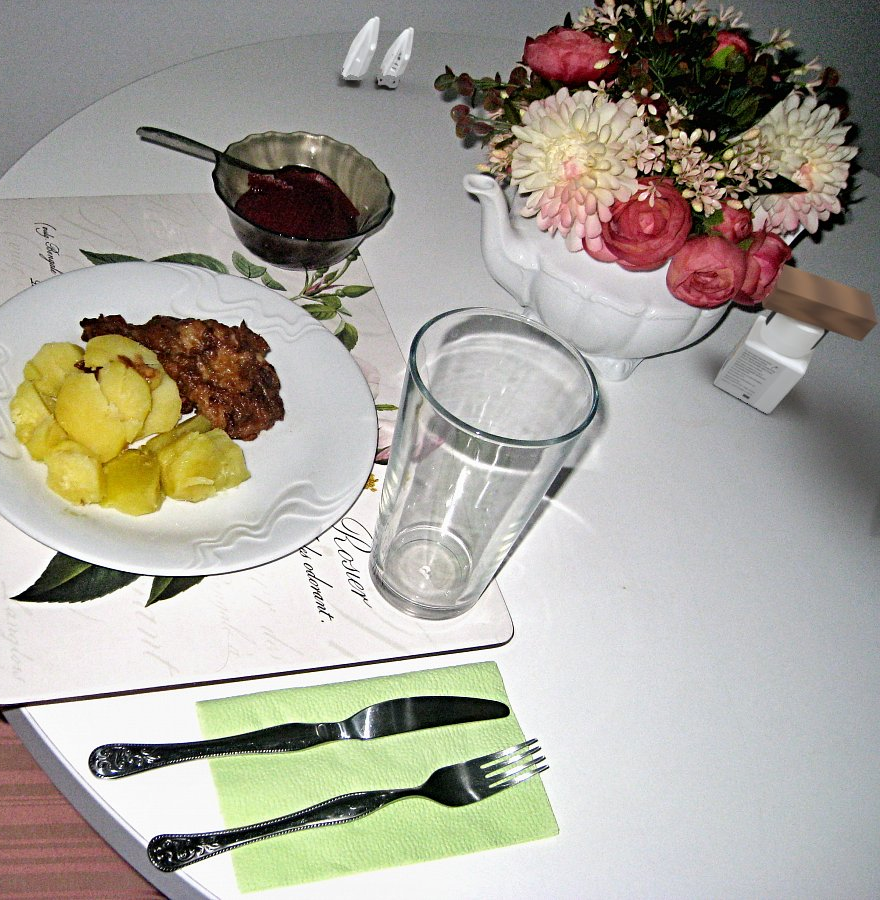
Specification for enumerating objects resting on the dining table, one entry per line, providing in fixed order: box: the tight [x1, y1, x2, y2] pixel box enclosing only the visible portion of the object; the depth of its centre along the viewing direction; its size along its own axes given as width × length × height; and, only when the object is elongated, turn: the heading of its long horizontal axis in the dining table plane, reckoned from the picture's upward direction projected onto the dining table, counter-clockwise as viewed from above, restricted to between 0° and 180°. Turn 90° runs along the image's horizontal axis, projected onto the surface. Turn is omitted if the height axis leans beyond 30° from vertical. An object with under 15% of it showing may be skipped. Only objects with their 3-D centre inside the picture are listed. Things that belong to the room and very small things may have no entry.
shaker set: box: [340, 16, 415, 77], centre depth 148 cm, size 12×4×11 cm, turn 106°
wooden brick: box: [761, 263, 879, 342], centre depth 107 cm, size 12×6×3 cm, turn 73°
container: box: [713, 311, 830, 415], centre depth 113 cm, size 8×8×13 cm
